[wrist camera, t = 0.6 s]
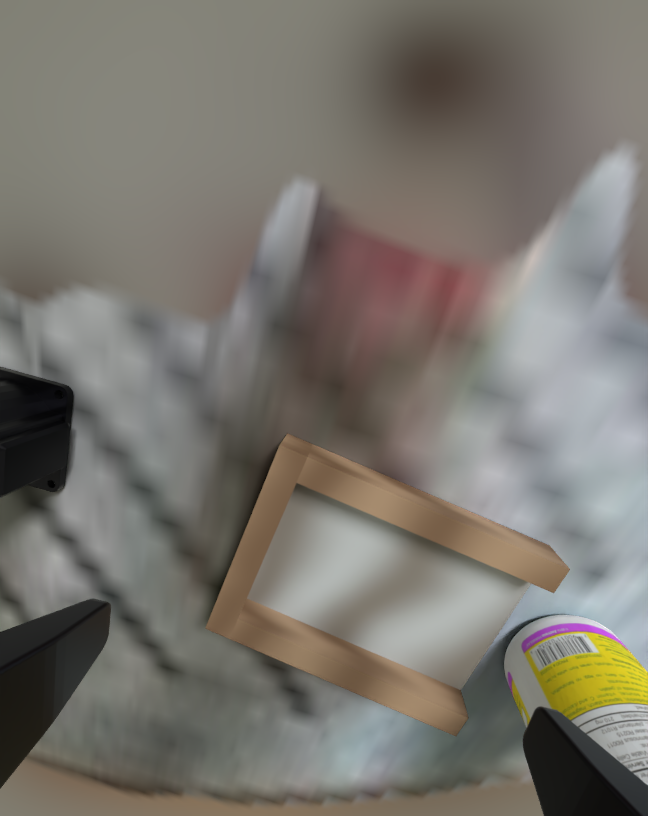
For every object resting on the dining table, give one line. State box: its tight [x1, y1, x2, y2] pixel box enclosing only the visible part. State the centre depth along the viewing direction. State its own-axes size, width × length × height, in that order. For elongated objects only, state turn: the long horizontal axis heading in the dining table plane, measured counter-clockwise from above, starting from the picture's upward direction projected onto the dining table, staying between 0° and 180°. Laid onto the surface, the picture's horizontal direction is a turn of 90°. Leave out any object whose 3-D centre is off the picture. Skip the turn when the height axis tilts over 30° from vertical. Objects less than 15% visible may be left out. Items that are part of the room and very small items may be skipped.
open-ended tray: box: [205, 434, 570, 736], centre depth 20 cm, size 16×12×2 cm
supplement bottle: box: [504, 615, 648, 785], centre depth 15 cm, size 7×7×13 cm
